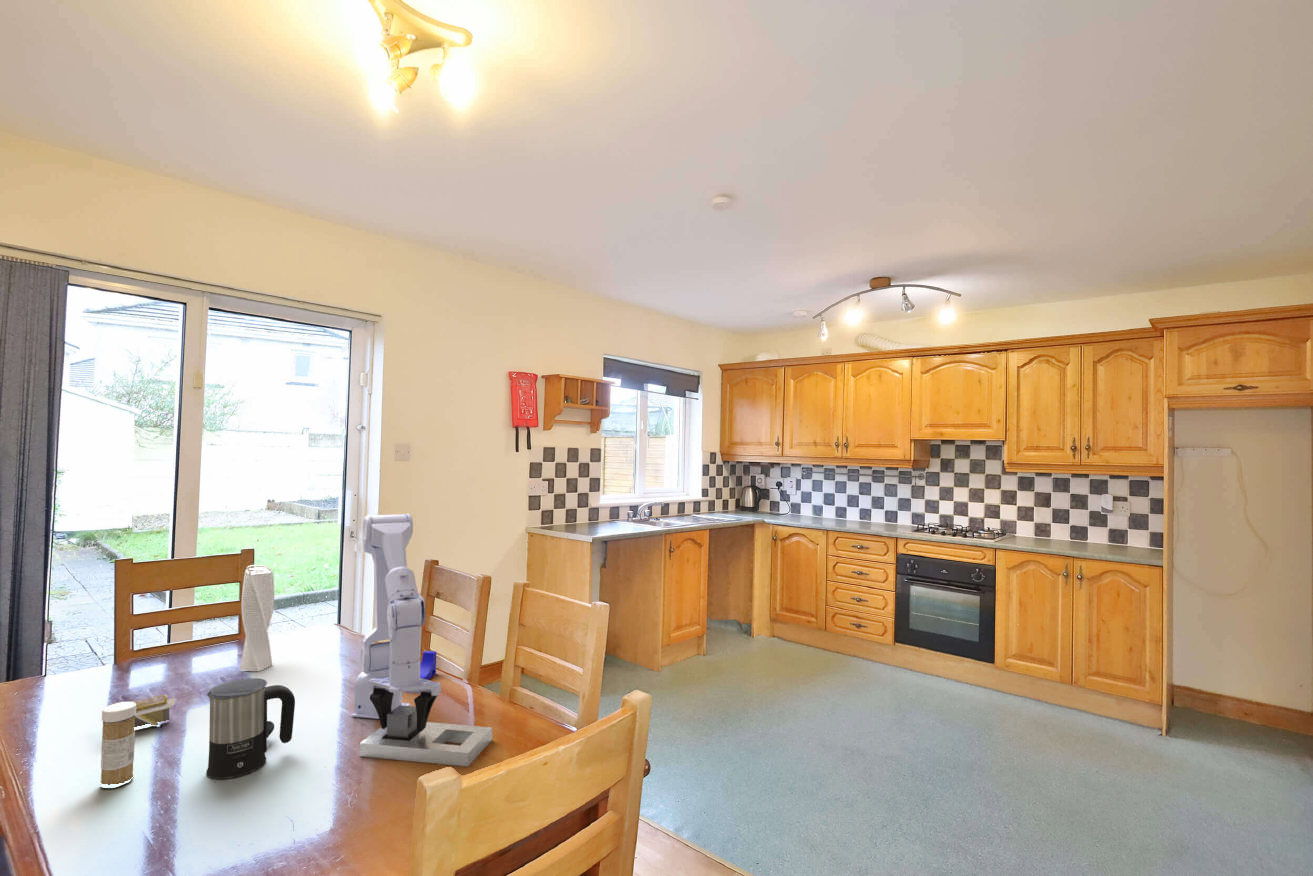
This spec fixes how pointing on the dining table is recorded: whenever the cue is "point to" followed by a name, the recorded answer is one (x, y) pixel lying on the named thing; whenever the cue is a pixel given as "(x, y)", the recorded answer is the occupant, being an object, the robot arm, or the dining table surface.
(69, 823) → the dining table surface
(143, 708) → the platform
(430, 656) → the cable clip
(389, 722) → the upright grey block
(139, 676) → the dining table surface
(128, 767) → the sprinkles bottle
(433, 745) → the grey flat slab
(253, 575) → the skyscraper
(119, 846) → the dining table surface
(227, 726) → the milk frother
